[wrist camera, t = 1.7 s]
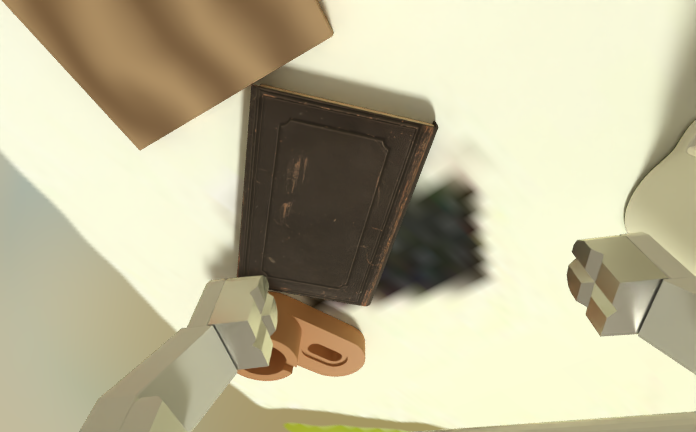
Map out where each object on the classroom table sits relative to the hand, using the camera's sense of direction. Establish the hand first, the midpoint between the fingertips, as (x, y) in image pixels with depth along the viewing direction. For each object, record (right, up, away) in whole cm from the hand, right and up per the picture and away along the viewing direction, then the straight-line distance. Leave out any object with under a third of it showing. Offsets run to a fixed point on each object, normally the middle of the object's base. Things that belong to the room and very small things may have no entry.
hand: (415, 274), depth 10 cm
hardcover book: (-4, +3, +29) cm, 29 cm away
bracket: (-8, -13, +40) cm, 43 cm away
